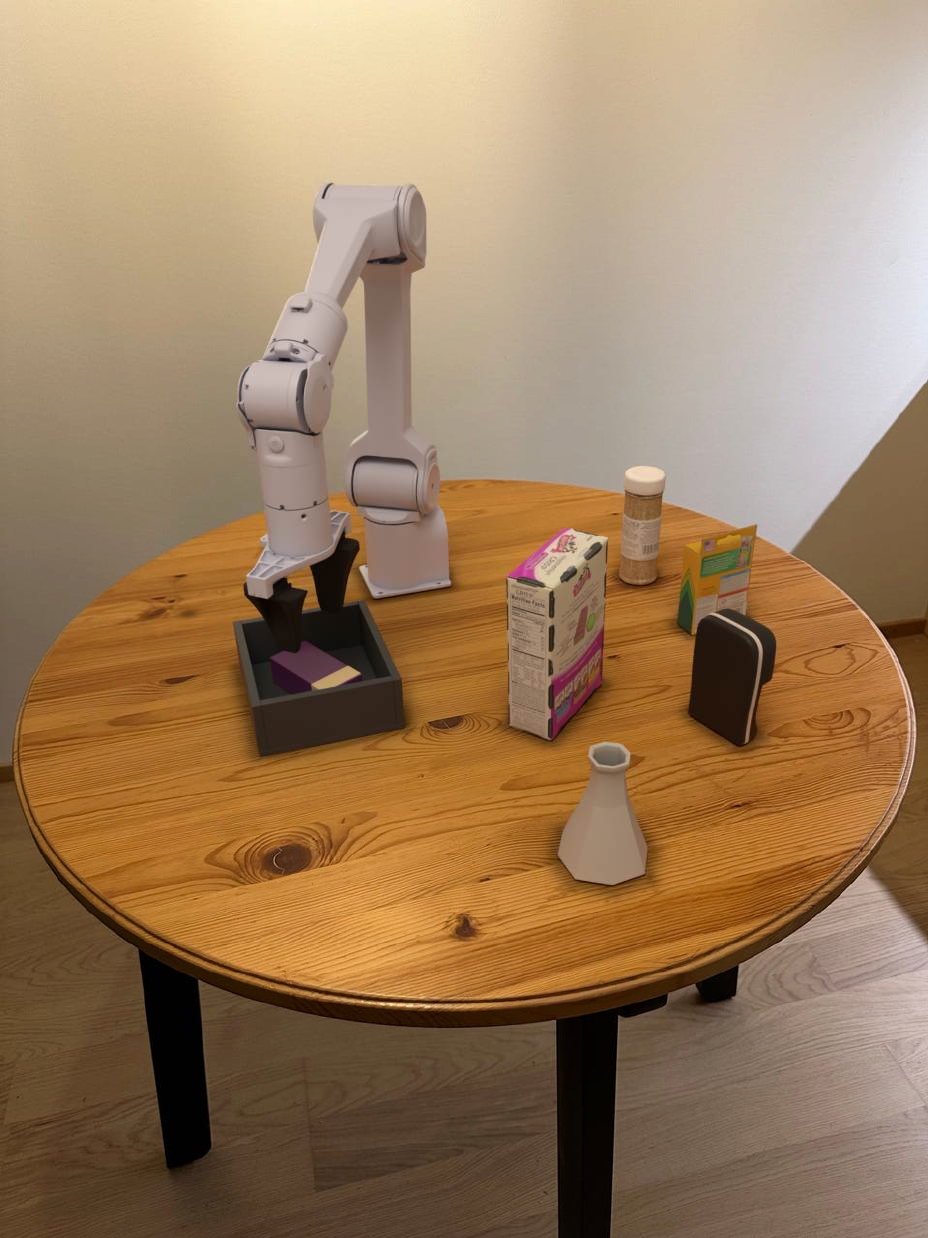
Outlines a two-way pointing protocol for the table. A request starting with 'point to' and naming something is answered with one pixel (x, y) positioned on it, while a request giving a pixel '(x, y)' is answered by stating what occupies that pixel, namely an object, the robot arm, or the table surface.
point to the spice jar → (641, 524)
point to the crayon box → (715, 576)
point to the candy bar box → (555, 631)
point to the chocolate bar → (310, 670)
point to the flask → (604, 823)
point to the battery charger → (730, 672)
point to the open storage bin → (325, 710)
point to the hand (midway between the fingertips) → (310, 629)
